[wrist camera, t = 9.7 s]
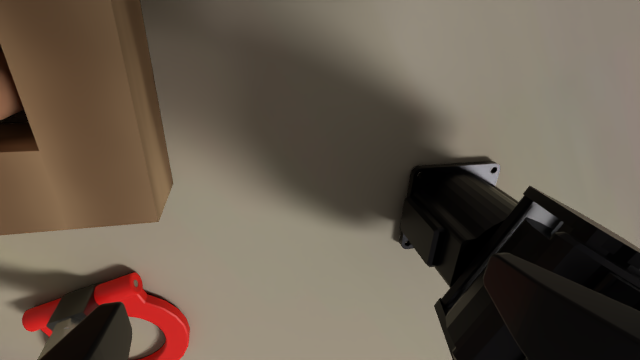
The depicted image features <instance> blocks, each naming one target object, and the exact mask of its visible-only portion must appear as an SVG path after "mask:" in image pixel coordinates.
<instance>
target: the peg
mask: <svg viewBox="0 0 640 360" xmlns="http://www.w3.org/2000/svg"><path fill="white" fill-rule="evenodd" d="M22 110H24V107H23V105H22V102H21V99H20V96H19V94H18V91H17V88H16V85H15V83H14V80H13V77H12V74H11V72H10V69H9V66H8V63H7V61H6V58H5V55H4V52H3V50H2V47H1V44H0V120H2V119H5V118H7V117H9V116H11V115H13V114H15V113H18V112H20V111H22Z"/></svg>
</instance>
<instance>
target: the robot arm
mask: <svg viewBox="0 0 640 360" xmlns="http://www.w3.org/2000/svg"><path fill="white" fill-rule="evenodd" d="M492 168H493V169H492ZM491 169H492V170H491ZM490 170H491V171H490ZM419 172H421V174H420V175H419V176H417V175H418V173H419ZM499 172H500V165H499V164H497V163H495V162H493V161H489V162H473V163H457V164H441V165H425V166H416V167H415V168H414V169H413V170H412V172H411V176H410V181H409V187H408V193H407V197H406V198H405V201H404V207H403V212H402V218H401V224H400V230H401V234H400V240H399V243H400V244H401V246H402V247H403V248H404V249H411V248H415V250H416V251H417V252H418V254H419V255H420V256H421V258H422V259H423V260H424V262H425V263H426V264H427V265H428V266H429V267H435V268H436V270H437V271H438V272H439V274H440V275H441V276H442V277H443V279H444V280H445V281H446V283H447V284H448V285H449V287H450V289H449V290H448V291H447V293H446V294H445V295H444V296H443V298H442V299H441V298H440V299H439V300H438V301H437V302H436V304H435V305H434V307H435V310H436V312H437V315H438V318H439V321H440V324H441V327H442V330H443V333H444V335H445V338H446V341H447V344H448V347H449V350H450V353H451V356H452V358H453V360H640V249H639V248H638V247H636V246H634V245H633V244H631V243H630V242H628V241H627V240H625V239H624V238H622V237H620V236H619V235H617V234H615V233H614V232H612V231H610V230H608V229H607V228H605V227H603V226H602V225H600V224H598V223H596V222H595V221H593V220H591V219H590V218H588V217H586V216H584V215H583V214H581V213H579V212H577V211H576V210H574V209H572V208H570V207H568V206H566V205H564V204H563V203H561V202H559V201H557V200H555V199H553V198H551V197H550V196H548V195H546V194H544V193H542V192H540V191H539V190H537V189H535V188H533V187H531V186H529V187H528V188H527V190H526V191H525V192H524V193H523V194H524V196H523V198H522V199H521V200H520V201H519V202H518V201H516V200H515V199H513V198H512V197H511V196H509V195H508V194H506V193H505V192H503V191H502V190H500V189H499V188H497V187H496V186H495V185H496V182H497V178H498V175H499ZM406 241H408V242H407V243H405V242H406ZM131 341H132V327H131V324H130V321H129V318H128V314H127V311H126V308H125V305H124V304H123V303H122V302H111V303H104V304H101V305H99V306H98V307H96V308H95V309H94V310H93V311H92V312H91V313H90V314H89V315H88V316H86V317H85V318H84V319H83V320H82V321H81V322H80V323H79V324H78V325H77V326H75V327H74V328H73V329H72V330H71V331H70V332H69V333H68V334H67V335H66V336H64V337H63V338H62V339H61V340H60V341H59V342H58V343H57V344H56V345H55V346H53V347H52V348H51V349H50V350H49V351H48V352H47V353H46V354H45V355H44V356H42V357H41V358H40V359H39V360H128V357H129V352H130V346H131Z"/></svg>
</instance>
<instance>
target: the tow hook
mask: <svg viewBox="0 0 640 360" xmlns="http://www.w3.org/2000/svg"><path fill="white" fill-rule="evenodd" d="M142 288H143V285H142V280H141V278H140V276H139V275H138V274H137V273H131V274H128V275H125V276H122V277H119V278H116V279H114V280H111V281H108V282H105V283H102V284H94V285H91V286H89V287H86V288H83V289H80V290H77V291H74V292H71V293H69V294H66V295H64V296H63V297H62V298H59V299H57V300H54V301H51V302H48V303H45V304H42V305H39V306H37V307H34V308H31V309H28V310H27V311H26V312H25V313H24V315H23V318H22V323H23V326H24V328H25V329H26V330H28V331H31V332H33V331H36V330H39V329H41V330H42V331H43V332H44V333H45V334H47V335H48V336H49V339H48V341H47V342H46V344H45V346H44V348H43V350H42V352H41V354H40V356H39V357H38V359H37V360H39V359H40V358H41V357H42V356H44V355H45V354H46V353H47V352H48V351H49V350H50V349H51V348H52V347H53V346H55V345H56V344H57V343H58V342H59V341H60V340H61V339H62V338H63V337H64V336H66V335H67V334H68V333H69V332H70V331H71V330H72V329H73V328H74V327H75V326H77V325H78V324H79V323H80V322H81V321H82V320H83V319H84V318H85V317H86V316H88V315H89V314H90V313H91V312H92V311H93V310H94V309H95V308H96V307H98V306H99V305H101V304H104V303H111V302H122V303H123V304H124V305H125V308H126V311H127V314H128V316H129V317H137V318H141V319H144V320H147V321H150V322H152V323H153V324H155V325H157V326H158V327H159V328H160V329H161V330H162V331H163V333H164V335H165V337H166V342H165V344H164V345H163V346H162V347H161V348H160V349H159V350H158V351H156V352H155V353H153V354H152V355H149V356H147V357H144V358H141V359H136V360H179V359H180V358H181V357H182V356H183V355H184V353H185V351H186V349H187V347H188V343H189V332H190V327H189V325H188V322H187V319H186V317H185V316H184V315H183V314H182V313H181V312H180V310H179V309H178V308H176V307H175V306H173V305H171V304H170V303H168V302H167V301H165V300H162V299H159V298H156V297H154V296H151V295H147V293H146V292H145V291H144V290H143V289H142Z"/></svg>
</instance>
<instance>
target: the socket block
mask: <svg viewBox="0 0 640 360" xmlns="http://www.w3.org/2000/svg"><path fill="white" fill-rule="evenodd" d="M0 44H1V47H2V50H3V52H4V55H5V58H6V61H7V63H8V66H9V69H10V72H11V74H12V77H13V80H14V83H15V85H16V88H17V91H18V94H19V96H20V99H21V102H22V105H23V107H24V110H25V113H26V116H27V118H28V121H29V123H14V124H0V235H9V234H21V233H32V232H44V231H56V230H68V229H80V228H91V227H103V226H115V225H127V224H139V223H151V222H159V219H160V217H161V214H162V211H163V209H164V206H165V203H166V201H167V198H168V196H169V193H170V190H171V188H172V185H173V180H172V175H171V169H170V164H169V158H168V153H167V147H166V142H165V136H164V131H163V125H162V120H161V114H160V109H159V103H158V98H157V92H156V87H155V81H154V76H153V70H152V65H151V59H150V54H149V48H148V43H147V37H146V32H145V26H144V21H143V15H142V10H141V4H140V0H0Z"/></svg>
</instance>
